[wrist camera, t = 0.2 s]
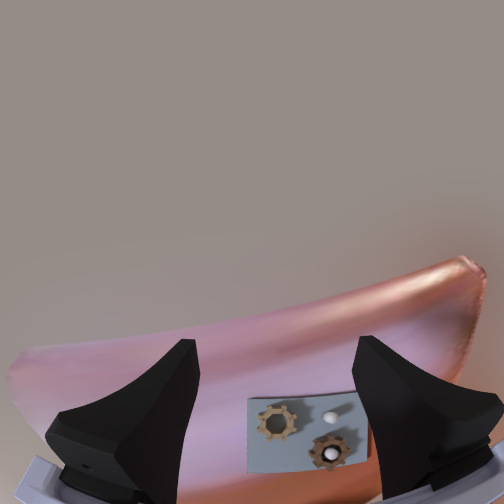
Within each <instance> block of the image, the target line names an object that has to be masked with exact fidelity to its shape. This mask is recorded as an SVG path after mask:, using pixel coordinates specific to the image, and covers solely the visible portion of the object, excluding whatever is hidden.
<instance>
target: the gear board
mask: <svg viewBox="0 0 504 504" xmlns="http://www.w3.org/2000/svg"><path fill="white" fill-rule="evenodd" d="M281 404H282V405H285V406H287V408H286V411H287V412H288V413H289V414H290V413H292V412H293V413H295V414H296V416H297V418H295V419H294V426H295V427H296V428H297V430H296V432H293V431H291V432H290V433H289V434H288V435H287V436H286V439H287V440H286V441H282V439H272V441H271V442H269V441H267V439H266V435H265V434H264V433H263V432H261V433H258V431H257V427H258V426H260V420H258V419H257V415H258V413H259V414H263V413H264V412H265V411H266V410H267V407H266V406H268V405H271V406H272V408H275V407H280V405H281ZM285 426H286V417H285V416H284V415H283V414H272V415H271V416H270V417H268V418H267V419H266V427H267V428H268V429H269V430H270V431H280V430H281V429H282V428H284V427H285ZM327 433H329V434H331V435H333V436H334V438H336V437H337V436H340V437H342V438H344V439H345V440H347V441H346V442H345V446H346V447H348V448H350V449H351V453H347V455H346V457H345V460H344V461H345V462H346V463H345V464H344V465H342V464H339V465H337V466H335V467H338V466H345V465H350V464H355V463H360V462H365V461H367V438H368V418H367V415H366V413H365V410H364V408H363V405H362V403H361V400H360V398H359V395H358V393H357V392H354V393H346V394H338V395H328V396H317V397H304V398H284V399H248V405H247V473H279V472H296V471H308V470H317V469H318V468H317V467H316V466H315V465H314V464H313V463H312V461H313V460H314V458H311V457H310V456H309V454H308V450H312V448H313V446H314V444H315V443H314V442H312V441H313V440H314V439H316V440H320V439H322V438H324V437H325V434H327ZM320 456H321V458H322V459H330V460H334V459H336V458H337V457H338V451H337V447H336V445H335V444H331V445H329V446H327V447H325V448H324V449H323V451H322V453H321V455H320ZM319 469H325V467H321V468H319Z"/></svg>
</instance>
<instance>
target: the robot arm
mask: <svg viewBox="0 0 504 504" xmlns="http://www.w3.org/2000/svg"><path fill="white" fill-rule="evenodd" d="M352 375H353V379H354V383H355V387H356V390H357V393H358V395H359V398H360V400H361V403H362V405H363V408H364V410H365V413H366V415H367V418H368V420H369V423H370V426H371V429H372V432H373V436H374V440H375V444H376V449H377V454H378V459H379V465H380V473H381V481H382V495H383V501H379V502H375V503H372V504H492V503H493V502H495V501H496V500H498V499H499V498H500V497H501V496H503V495H504V439H503V440H501V441H500V442H498V443H497V444H496V445H494V446H493V447H492V448H491V449H490V448H489V446H488V444H489V443H490V441H491V440H490V438H489V436H488V435H489V434H490V432H491V431H492V430H493V428H494V427H495V426H496V424H497V423H498V422H499V420H500V419H501V417H502V415H503V413H504V404H503V403H502V401H501V400H500V399H499V397H498V396H497V395H496V394H494V393H487V392H480V391H475V390H471V389H467V388H463V387H460V386H457V385H454V384H452V383H449V382H446V381H444V380H442V379H439V378H437V377H435V376H433V375H431V374H429V373H427V372H425V371H424V370H422V369H420V368H418V367H417V366H415V365H414V364H412V363H410V362H409V361H407V360H406V359H405V358H403V357H402V356H400V355H399V354H397V353H396V352H395V351H393V350H392V349H391V348H389V347H388V346H387V345H385V344H384V343H383V342H381V341H380V340H378V339H377V338H375V337H374V336H372V335H370V336H360V338H359V342H358V347H357V351H356V355H355V359H354V363H353V367H352ZM199 380H200V369H199V363H198V356H197V349H196V342H195V340H194V339H181V340H180V341H179V342H178V343H177V344H176V345H175V346H174V347H173V348H171V349H170V350H169V351H168V352H167V353H166V354H165V355H164V356H163V357H162V358H161V359H160V360H159V361H158V362H157V363H156V364H155V365H153V366H152V367H151V368H150V369H149V370H147V371H146V372H145V373H144V374H142V375H141V376H140V377H139V378H137V379H136V380H134V381H133V382H131V383H130V384H128V385H127V386H125V387H123V388H122V389H120V390H118V391H116V392H114V393H112V394H110V395H108V396H107V397H105V398H102V399H100V400H98V401H95V402H93V403H90V404H87V405H84V406H81V407H78V408H74V409H70V410H67V411H62V412H59V414H58V415H57V416H56V418H55V419H54V421H53V423H52V424H51V426H50V427H49V429H48V430H47V432H46V434H45V439H46V441H47V443H48V445H49V446H50V447H51V449H52V450H53V451H54V452H55V453H56V455H57V456H58V457H59V458H60V459H61V460H62V461H63V462H64V464H65V467H64V469H63V470H62V469H61V468H59V467H58V466H56V465H55V464H53V463H51V462H49V461H47V460H45V459H43V458H41V457H39V456H37V455H36V456H35V457H34V459H33V460H32V462H31V464H30V466H29V467H28V469H27V471H26V473H25V474H24V476H23V478H22V480H21V482H20V483H19V485H18V487H17V489H16V491H15V493H14V497H15V498H17V499H18V500H19V501H20V502H22V503H23V504H176V500H177V487H178V477H179V469H180V461H181V454H182V448H183V442H184V437H185V433H186V429H187V426H188V423H189V419H190V416H191V413H192V410H193V406H194V403H195V400H196V396H197V392H198V386H199Z"/></svg>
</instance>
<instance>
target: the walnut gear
mask: <svg viewBox="0 0 504 504" xmlns="http://www.w3.org/2000/svg"><path fill="white" fill-rule="evenodd" d="M346 441H347V440H345V439H344V438H342V437H340V436H337V437H336V438H334V436H333V435H331V434H329V433H327V434H325V437H324V438H322V439H320V440H316V439H314V440H313V441H312V442H314V443H315V444H314V446H313V448H312V450H308V454H309V456H310V457H311V458H314V460H313V461H312V463H313V464H314V465H315V466H316V467H317V468H318V469H319V468H321V467H325V468H326V469H327V470H328V471H333V467H335V466H337V465H339V464H342V465H344V464H345V463H346V462H345V461H344V460H345V457H346V455H347V453H351V449H350V448H348V447H346V446H345V442H346ZM331 444H335V445H336V447H337V451H338V457H337V458H336V459H334V460H330V459H322V458H321V456H320V455H321V453H322V451H323V449H324V448H325V447H327V446H329V445H331Z"/></svg>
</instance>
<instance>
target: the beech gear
mask: <svg viewBox="0 0 504 504" xmlns="http://www.w3.org/2000/svg"><path fill="white" fill-rule="evenodd" d="M266 407H267V410H266V411H265V412H264V413H263V414H259V413H258V415H257V419H258V420H260V426H258V427H257V431H258V433H261V432H263V433H264V434H265V435H266V439H267V441H269V442H271V441H272V439H282V441H286V440H287V439H286V436H287V435H288V434H289V433H290V432H291V431H293V432H296V430H297V428H296V427H295V426H294V419H295V418H297V416H296V414H295V413H293V412H292V413H290V414H289V413H288V412H287V411H286V408H287V406H285V405H282V404H281V405H280V407H275V408H272V406H271V405H268V406H266ZM272 414H283V415H284V416H285V417H286V426H285V427H284V428H282V429H281V430H280V431H270V430H269V429H268V428H267V427H266V419H267V418H268V417H270V416H271V415H272Z"/></svg>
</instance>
